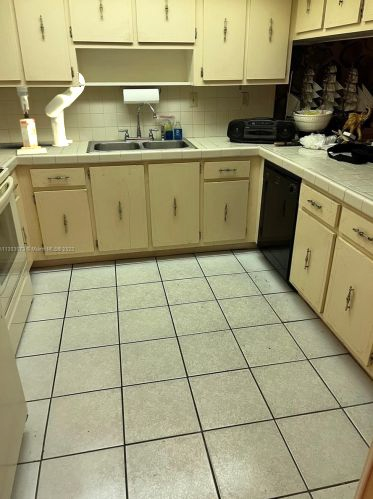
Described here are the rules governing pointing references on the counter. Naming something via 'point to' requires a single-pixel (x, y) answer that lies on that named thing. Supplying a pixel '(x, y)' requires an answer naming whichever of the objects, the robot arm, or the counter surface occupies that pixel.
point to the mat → (31, 151)
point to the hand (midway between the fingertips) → (26, 119)
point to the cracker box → (28, 133)
